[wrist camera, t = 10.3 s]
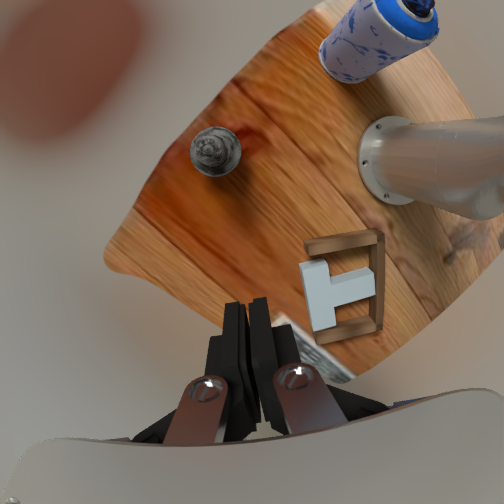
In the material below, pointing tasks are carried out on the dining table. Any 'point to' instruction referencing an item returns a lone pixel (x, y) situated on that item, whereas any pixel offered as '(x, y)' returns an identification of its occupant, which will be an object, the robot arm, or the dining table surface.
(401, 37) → the aerosol can
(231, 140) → the grey stone statue
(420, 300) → the dining table surface
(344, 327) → the corral
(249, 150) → the dining table surface
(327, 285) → the t block
